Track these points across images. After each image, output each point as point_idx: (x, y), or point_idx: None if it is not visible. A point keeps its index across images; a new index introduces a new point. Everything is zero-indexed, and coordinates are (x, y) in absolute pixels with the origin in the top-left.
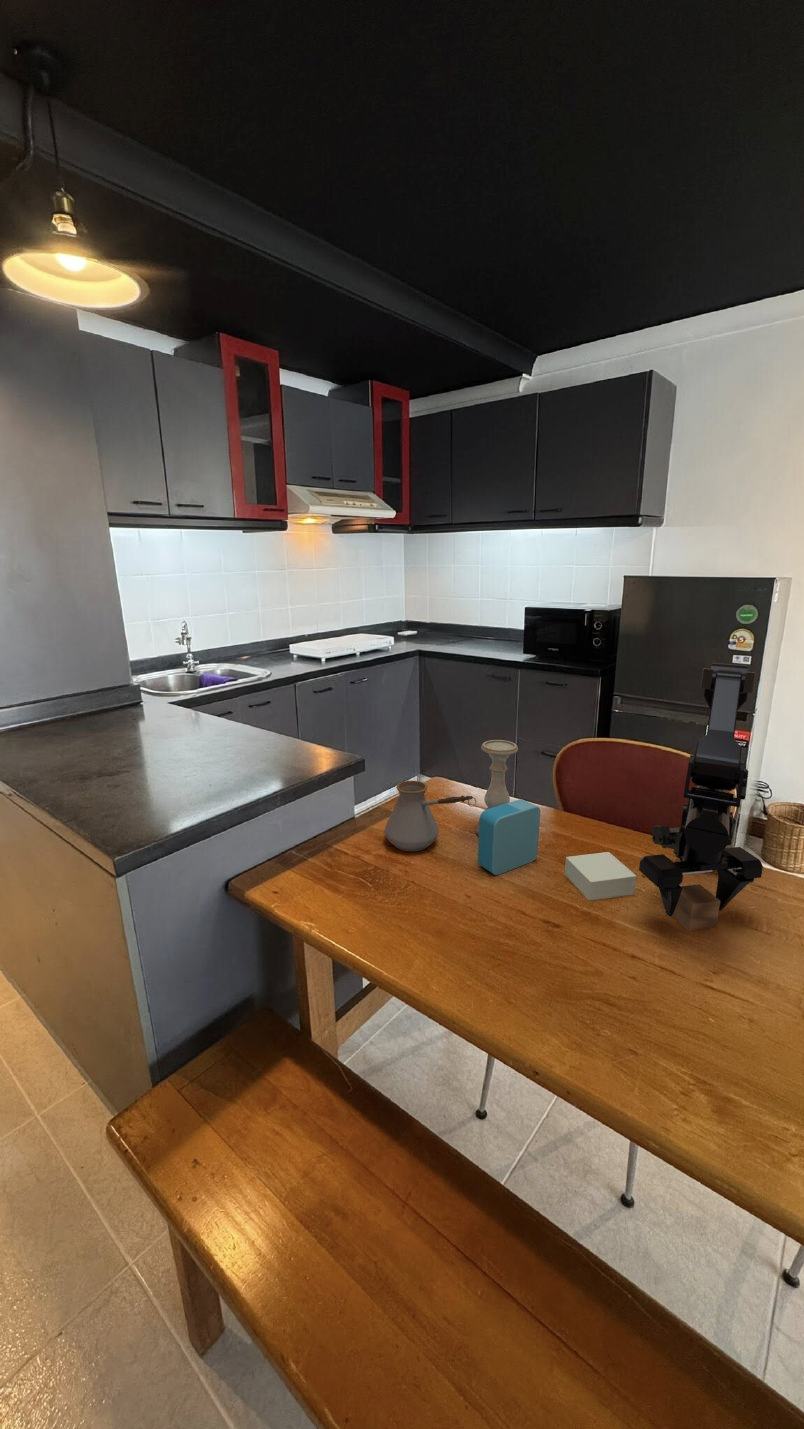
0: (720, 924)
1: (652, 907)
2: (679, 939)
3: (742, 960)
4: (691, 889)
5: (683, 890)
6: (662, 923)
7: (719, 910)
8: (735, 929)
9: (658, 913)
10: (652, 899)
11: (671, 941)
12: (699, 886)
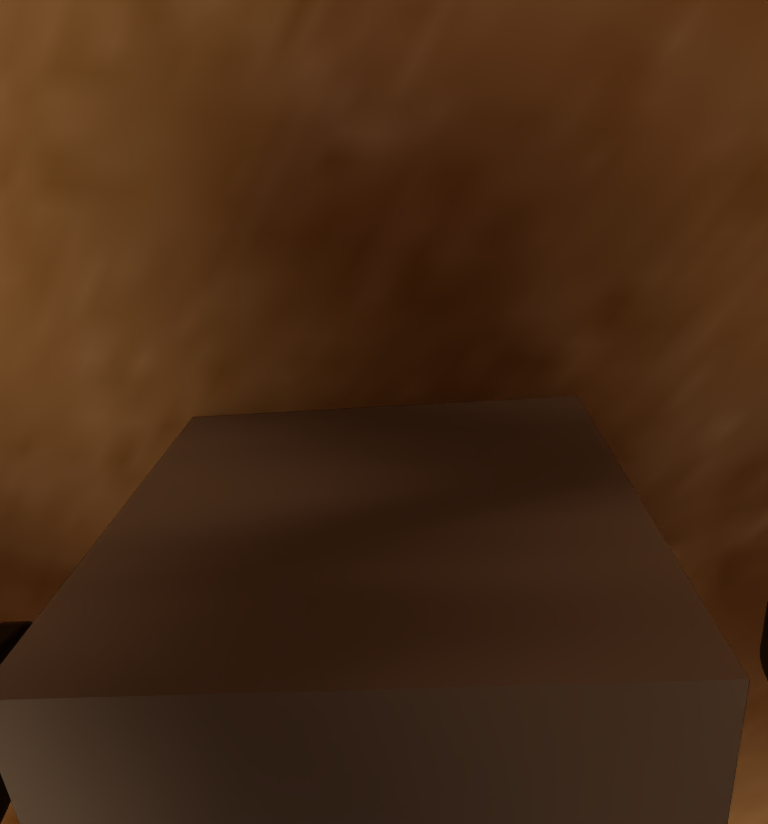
0: None
1: (6, 282)
2: None
3: None
4: (373, 813)
5: (164, 820)
6: (22, 583)
7: (763, 664)
8: (741, 747)
9: (41, 415)
10: (74, 74)
11: None
12: (661, 743)
